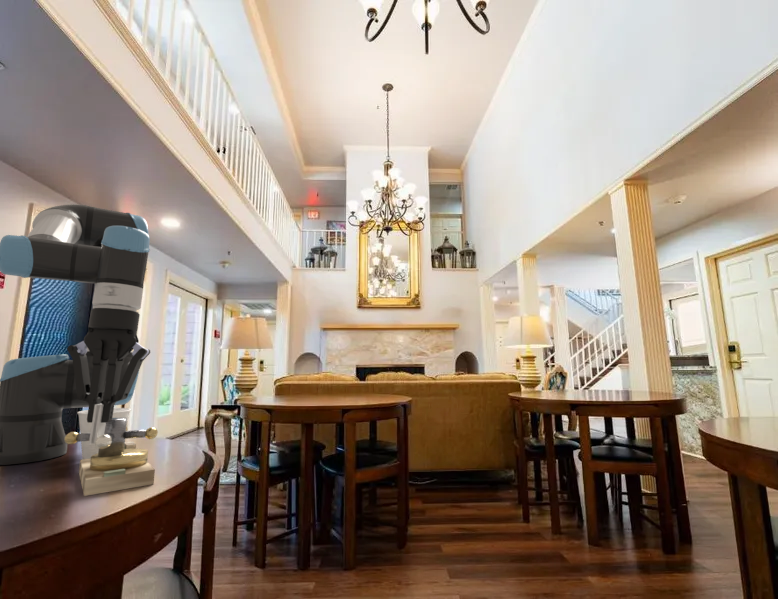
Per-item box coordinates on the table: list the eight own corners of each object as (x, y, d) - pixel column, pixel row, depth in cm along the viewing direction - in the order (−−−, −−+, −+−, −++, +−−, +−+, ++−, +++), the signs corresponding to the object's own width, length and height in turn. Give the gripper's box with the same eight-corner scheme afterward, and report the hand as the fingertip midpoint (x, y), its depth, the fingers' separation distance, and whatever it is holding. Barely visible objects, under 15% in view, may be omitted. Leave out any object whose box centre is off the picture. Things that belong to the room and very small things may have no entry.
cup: (98, 469, 82) (104, 413, 84) (59, 466, 84) (65, 412, 86) (137, 457, 92) (141, 408, 93) (101, 455, 94) (106, 407, 95)
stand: (78, 472, 79) (81, 447, 80) (137, 464, 86) (139, 440, 86) (84, 496, 66) (87, 464, 66) (153, 484, 72) (155, 455, 73)
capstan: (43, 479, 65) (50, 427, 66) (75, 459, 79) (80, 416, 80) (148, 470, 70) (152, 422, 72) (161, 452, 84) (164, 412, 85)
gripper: (66, 304, 69) (41, 446, 65) (146, 308, 72) (127, 446, 68) (88, 309, 77) (67, 438, 73) (160, 313, 79) (143, 438, 75)
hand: (96, 441), depth 70 cm, fingers closed
